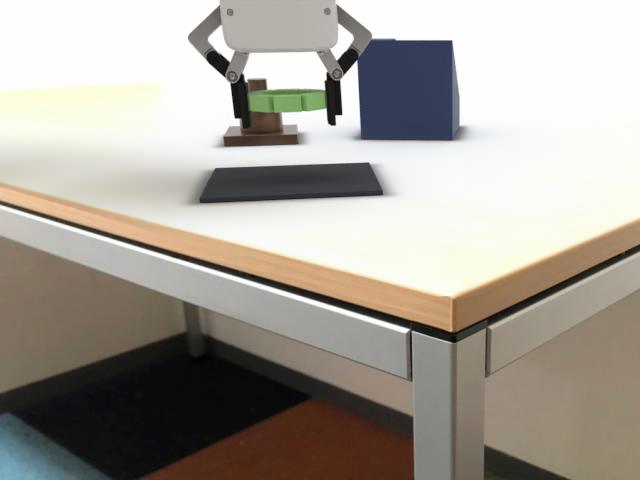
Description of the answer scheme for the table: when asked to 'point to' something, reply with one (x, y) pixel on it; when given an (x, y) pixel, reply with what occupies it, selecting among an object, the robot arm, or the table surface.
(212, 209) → the table surface
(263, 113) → the stand
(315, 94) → the ring
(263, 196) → the mat
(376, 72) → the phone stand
